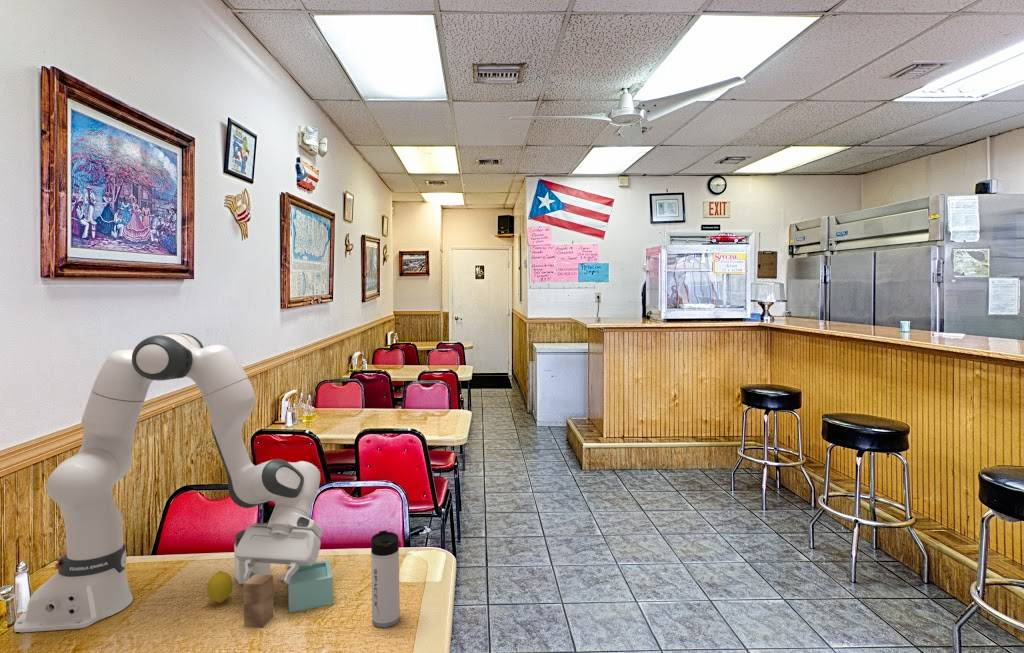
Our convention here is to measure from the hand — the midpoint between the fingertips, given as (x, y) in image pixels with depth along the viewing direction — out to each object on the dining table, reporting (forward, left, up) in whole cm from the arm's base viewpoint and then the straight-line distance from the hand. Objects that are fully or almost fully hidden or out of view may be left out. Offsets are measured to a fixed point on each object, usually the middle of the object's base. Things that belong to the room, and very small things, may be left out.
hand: (265, 581), depth 135 cm
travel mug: (+27, -12, -8) cm, 30 cm away
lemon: (-11, +9, -8) cm, 17 cm away
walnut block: (-1, -3, -8) cm, 9 cm away
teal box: (+10, +4, -8) cm, 14 cm away
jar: (-5, +21, -8) cm, 24 cm away
